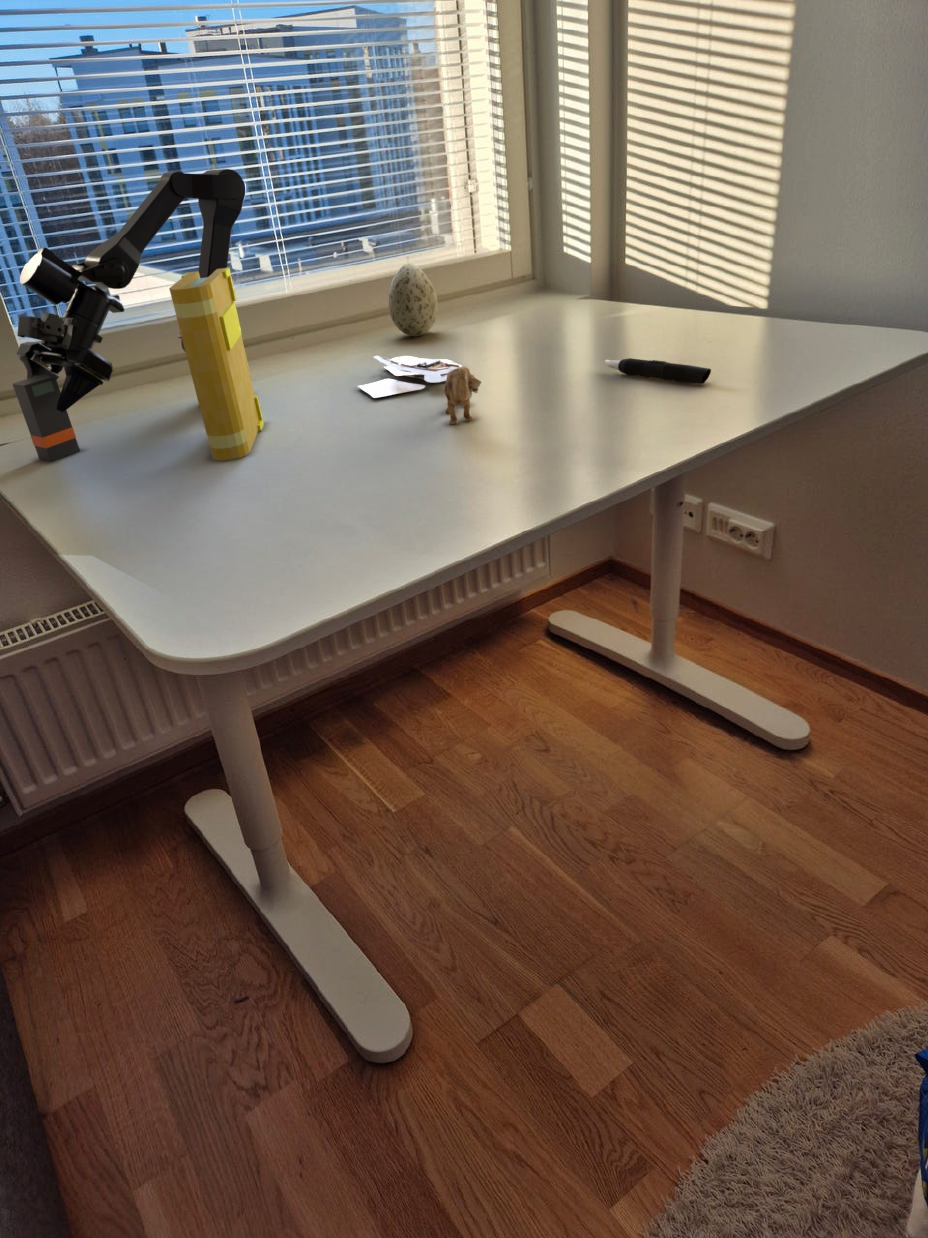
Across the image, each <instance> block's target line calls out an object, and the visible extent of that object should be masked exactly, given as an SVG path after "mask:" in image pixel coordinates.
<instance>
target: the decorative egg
mask: <svg viewBox="0 0 928 1238" xmlns="http://www.w3.org/2000/svg"><path fill="white" fill-rule="evenodd" d="M388 290H389V291H388V298H387V299H388V300H387V301H388V302H387V304H388V311H389V315H390V318H391V320H392V322H393V324H394V325H395V327H397V329H398V330H399V331H401V332H402V333H403V334H405V335H407V336H411V337H419V336H423V335H425V334H426V333H428V332H429V331H430V330H431V329H432V328H433V326H434V325H435V323H436V321H437V318H438V312H439V303H438V297H437V293H436V290H435V287H434V286H433V284H432V282H431V280H430V279H429V277H428V276H427V275H426V273H425V272H424V271H423V269H421V268H420V267H419V266H417V265H415V264H413V263H405V264H403V265H402V266H400V268H399V269H398V270H397V272H396V273H395V274H394V276H393V278H392V280H391V283H390V286H389V289H388Z"/></svg>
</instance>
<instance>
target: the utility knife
mask: <svg viewBox="0 0 928 1238" xmlns="http://www.w3.org/2000/svg"><path fill="white" fill-rule="evenodd" d="M604 364H605V366H607V367H608V368H611V369H613V370H616V371H619V372H620V373H622V374H624V375H627V376H633V377H640V378H647V379H657V380H663V381H671V382H678V383H687V384H696V385H697V384H698V385H704V383H706V381H708V379H709V377H710V375H711V372H712V369H711V368H709V367H702V366H697V365H690V364H682V363H673V362H668V361H665V360H656V359H652V360H651V359H649V360H647V359H639V358H633V357H632V358H631V357H628V358H623V359H621V360H611V359H610V360H609V359H606V360H605V361H604Z"/></svg>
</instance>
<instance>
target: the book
mask: <svg viewBox="0 0 928 1238" xmlns="http://www.w3.org/2000/svg"><path fill="white" fill-rule="evenodd" d="M180 277H181V278H179V280H178V281H176V282H175V283H174V284H173V285H172V286H170V287H169V289H168V290H169V293H170V298H171V300H172V304H173V309H174V312H175V316H176V320H177V324H178V328H179V333H180V332H181V336H182V340H183V344H184V348H185V351H184V353H185V352H186V353H185V355H186V360H187V363H188V367H189V371H190V375H191V379H192V383H193V386H194V391H195V395H196V398H197V402H198V406H199V411H200V415H201V418H202V421H203V425H204V426H203V427H204V430H205V433H206V437H207V441H208V444H209V445H208V446H209V449H210V453H211V456H212V459H213V460H216V461H222V462H223V461H225V462H226V461H232V460H233V461H234V460H237V459H241V458H243V457H245V456H248V455H249V454H250V453H251V451H252V448H253V445H254V443H255V441H256V438H257V436H258V434H259V432H262V430H263V428H264V425H265V422H264V418H263V413H262V408H261V404H260V399H259V396H258V395H256V394H255V390H254V385H253V381H252V377H251V373H250V368H249V367H250V366H249V364H248V359H247V353H246V349H245V346H244V340H243V337H242V333H243V332H242V329H241V324H240V319H239V314H238V309H237V306H236V301H237V296H236V292H235V288H234V286H235V285H234V282H233V278H232V274H231V268H230V267H227V268H221V269H217V270H215V271H214V272H213V273H212V274H211V275H210V276H209V277H206V278H200V275H199V270H197V271H196V270H195V271H189V272H185V273H184V274H182V275H181V276H180Z"/></svg>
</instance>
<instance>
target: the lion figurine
mask: <svg viewBox="0 0 928 1238" xmlns="http://www.w3.org/2000/svg"><path fill="white" fill-rule="evenodd" d="M481 384H482V380H480V379H478V378H476V377H475V375H474V374H472V373H471V372H470V368H469V367H467V366H462V367H460V368H457V369H453V370H451V371H449V372H448V375H447V379H446V381H445V384H444V395H445V397H446V401H447V407H446V408H445V413H446V414H448V413H449V417H450V420H449V421H448V422H449V423H448V424H449V425H456V424H457V423H458V417H457V414H456V407H463V419H464V421H466V422H470V421H471V422H472V421H473V420H474V417H473V416H471V414H470V413H471V412H470V408H471V399H472V397H473V396H472V395H473V393H474V394H477V393H478V392H479V388H480V386H481Z"/></svg>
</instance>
